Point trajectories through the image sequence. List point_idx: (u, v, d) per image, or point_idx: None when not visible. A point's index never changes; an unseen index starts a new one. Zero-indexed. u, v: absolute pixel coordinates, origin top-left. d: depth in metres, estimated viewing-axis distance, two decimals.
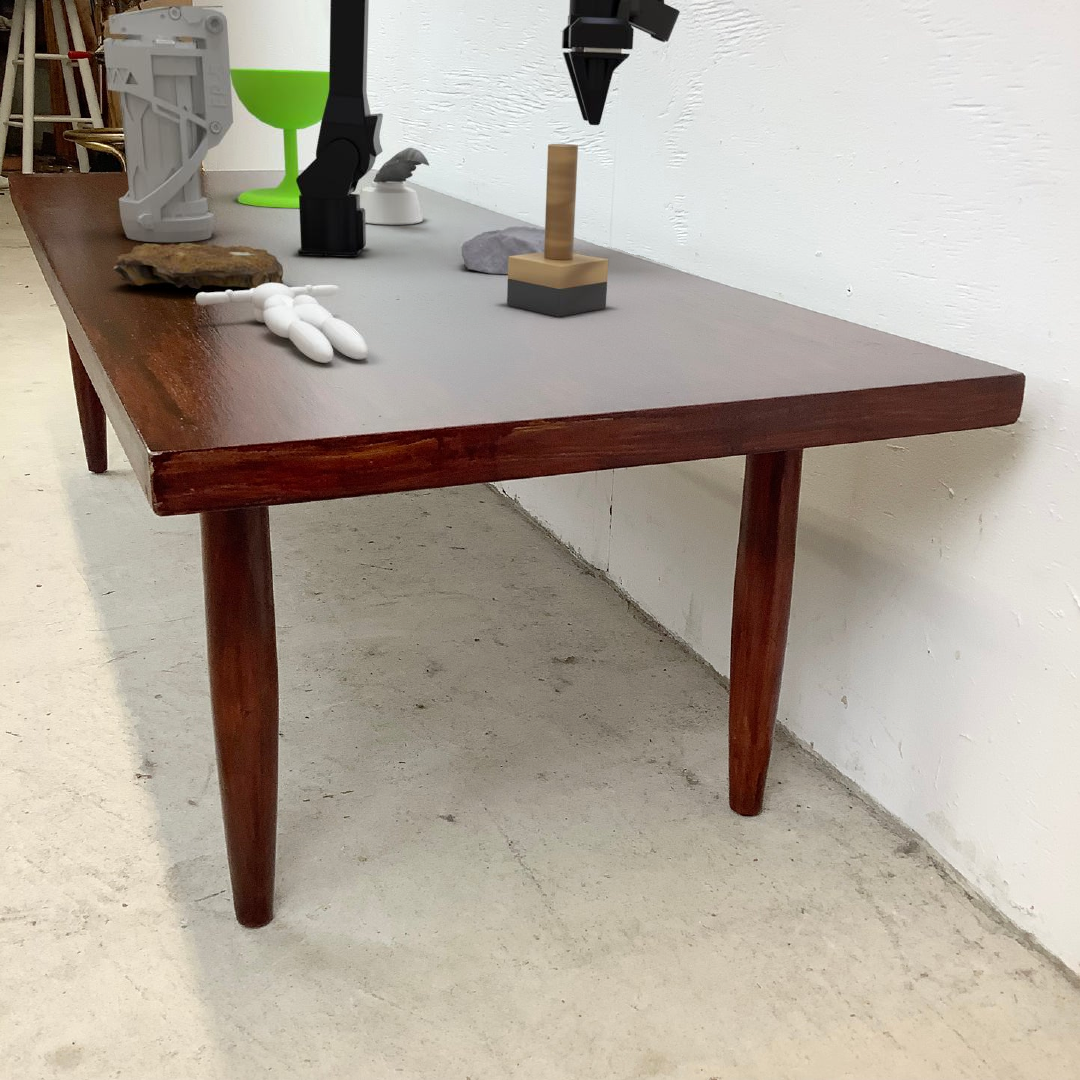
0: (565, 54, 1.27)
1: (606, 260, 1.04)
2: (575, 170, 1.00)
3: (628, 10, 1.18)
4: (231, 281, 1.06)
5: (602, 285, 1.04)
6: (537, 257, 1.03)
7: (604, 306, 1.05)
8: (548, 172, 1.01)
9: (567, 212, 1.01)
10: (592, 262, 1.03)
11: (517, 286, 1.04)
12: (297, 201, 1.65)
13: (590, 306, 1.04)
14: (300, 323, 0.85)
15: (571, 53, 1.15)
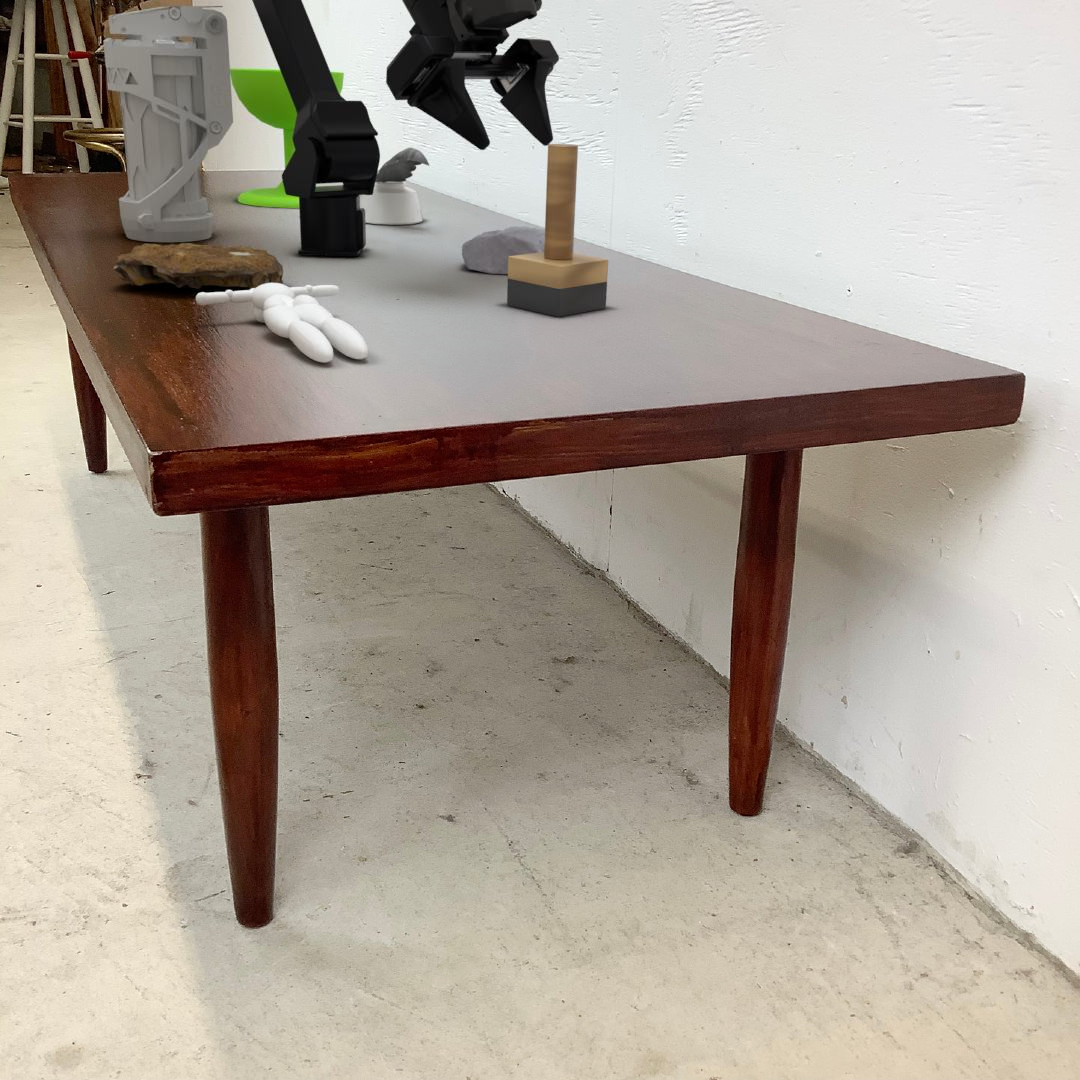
0: (501, 102, 1.13)
1: (606, 260, 1.04)
2: (575, 170, 1.00)
3: (459, 19, 1.04)
4: (231, 281, 1.06)
5: (602, 285, 1.04)
6: (537, 257, 1.03)
7: (604, 306, 1.05)
8: (548, 172, 1.01)
9: (567, 212, 1.01)
10: (592, 262, 1.03)
11: (517, 286, 1.04)
12: (297, 201, 1.65)
13: (590, 306, 1.04)
14: (300, 323, 0.85)
15: None
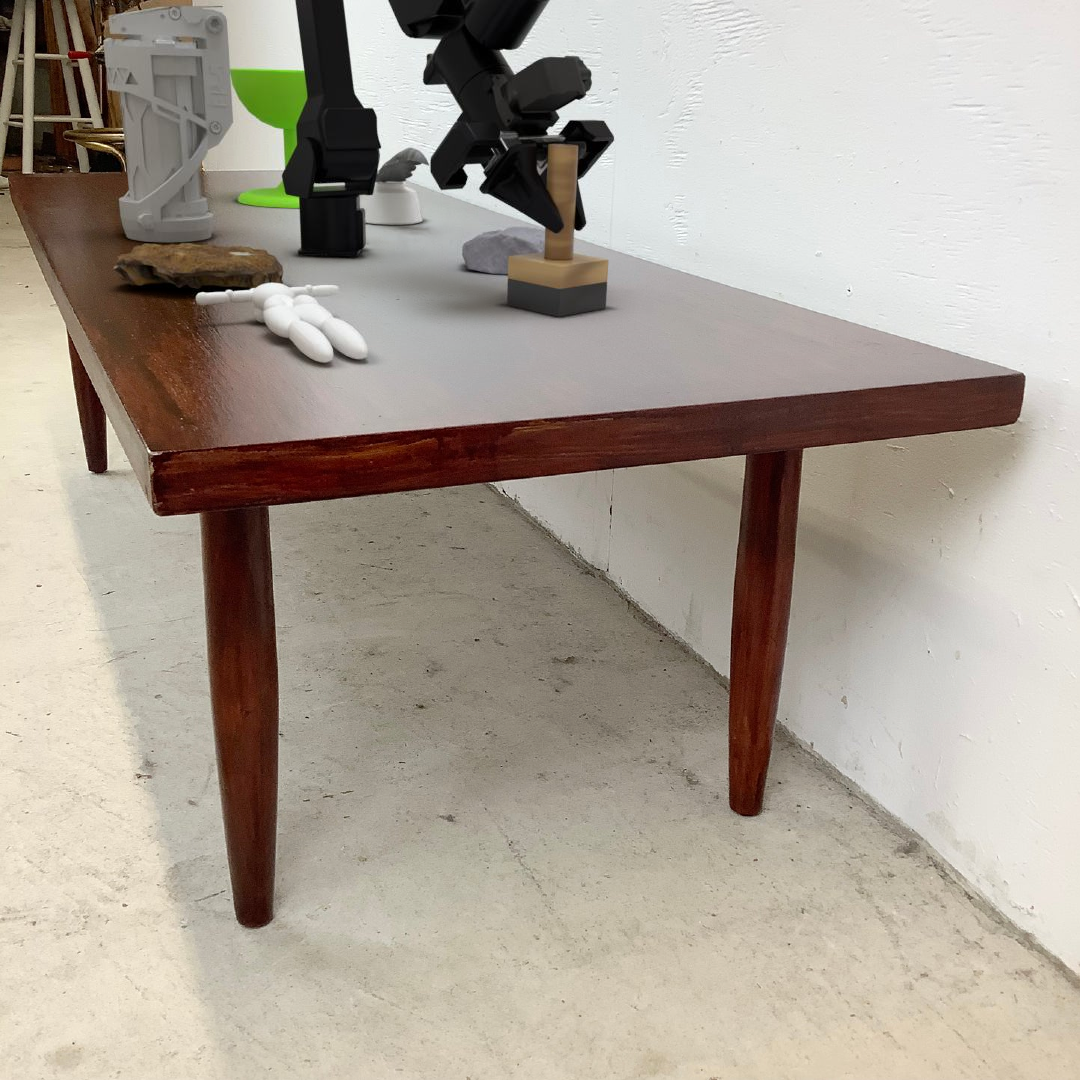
0: None
1: (606, 260, 1.04)
2: (575, 170, 1.00)
3: (505, 104, 1.00)
4: (231, 281, 1.06)
5: (602, 285, 1.04)
6: (537, 257, 1.03)
7: (604, 306, 1.05)
8: (548, 172, 1.01)
9: (568, 212, 1.01)
10: (592, 262, 1.03)
11: (517, 286, 1.04)
12: (297, 201, 1.65)
13: (590, 306, 1.04)
14: (300, 323, 0.85)
15: None
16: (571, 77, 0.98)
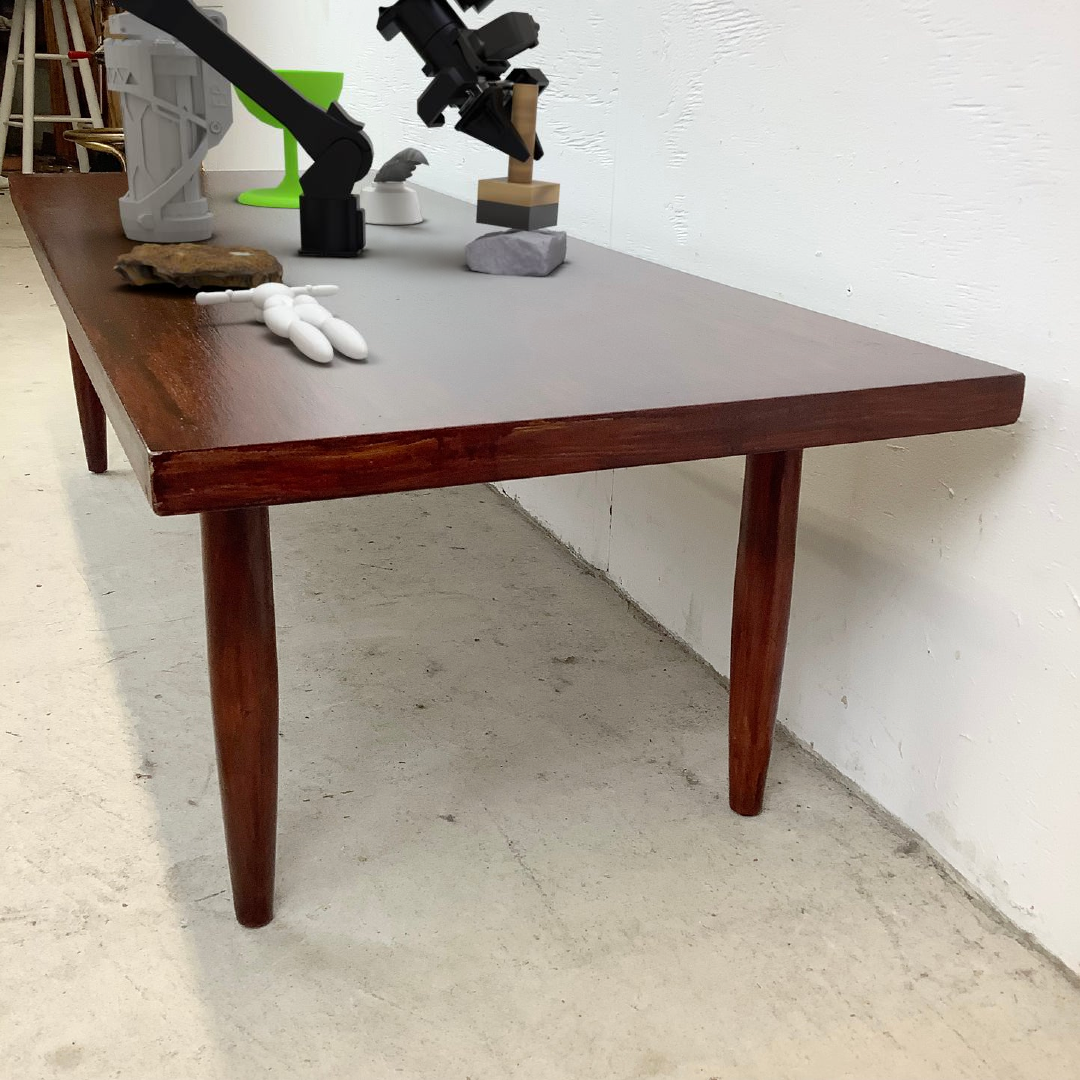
0: None
1: (559, 184, 1.24)
2: (536, 106, 1.19)
3: (473, 53, 1.17)
4: (231, 281, 1.06)
5: (555, 205, 1.24)
6: (502, 181, 1.22)
7: (556, 224, 1.25)
8: (514, 107, 1.19)
9: (530, 141, 1.20)
10: (550, 185, 1.22)
11: (486, 206, 1.22)
12: (297, 201, 1.65)
13: (548, 223, 1.24)
14: (300, 323, 0.85)
15: (455, 129, 1.19)
16: (528, 29, 1.17)
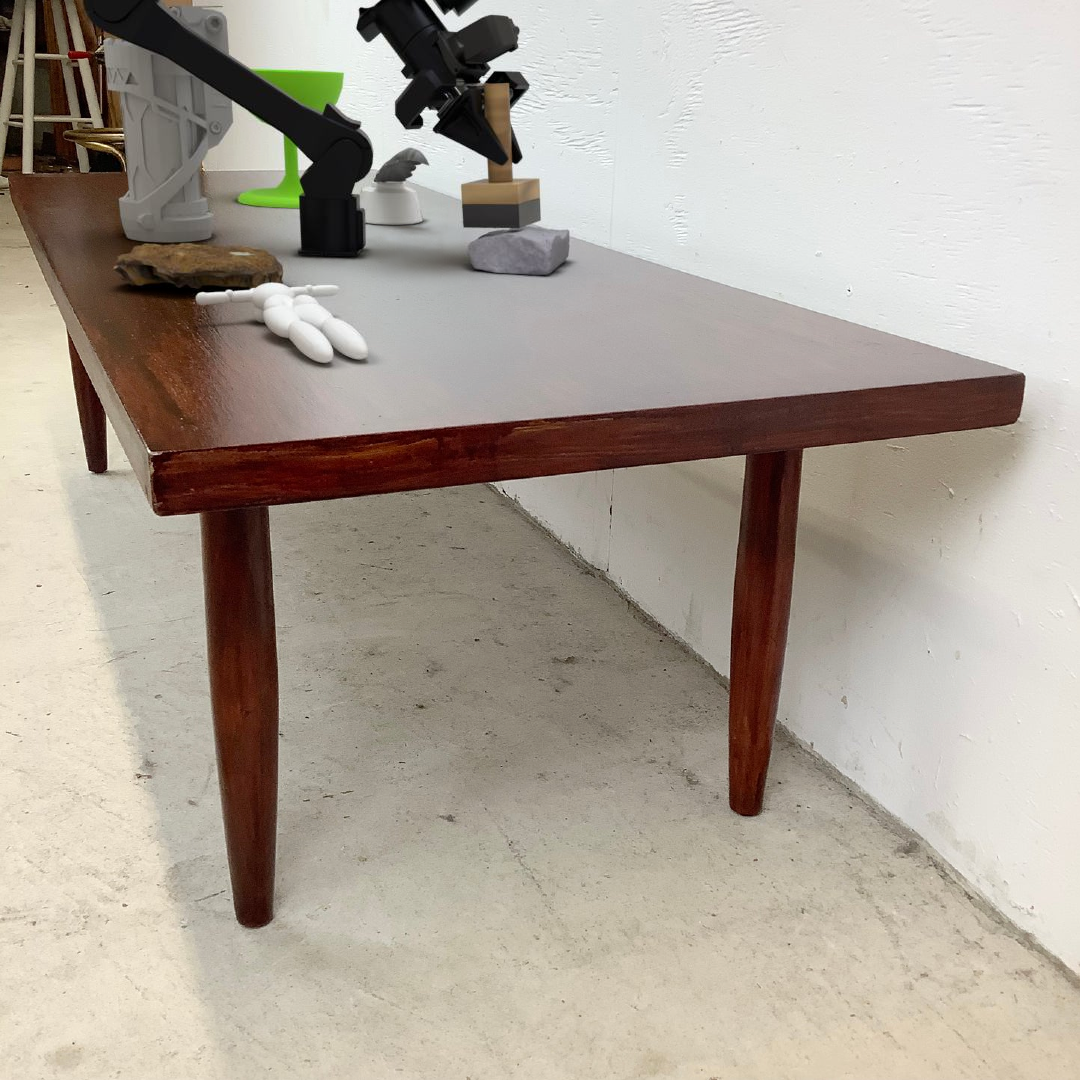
0: None
1: (538, 179, 1.24)
2: (509, 104, 1.19)
3: (452, 56, 1.17)
4: (231, 281, 1.06)
5: (538, 200, 1.24)
6: (484, 182, 1.21)
7: (540, 219, 1.25)
8: (487, 108, 1.19)
9: (508, 140, 1.20)
10: (532, 181, 1.22)
11: (473, 209, 1.21)
12: (297, 201, 1.65)
13: (534, 219, 1.24)
14: (300, 323, 0.85)
15: (433, 131, 1.19)
16: (508, 32, 1.17)
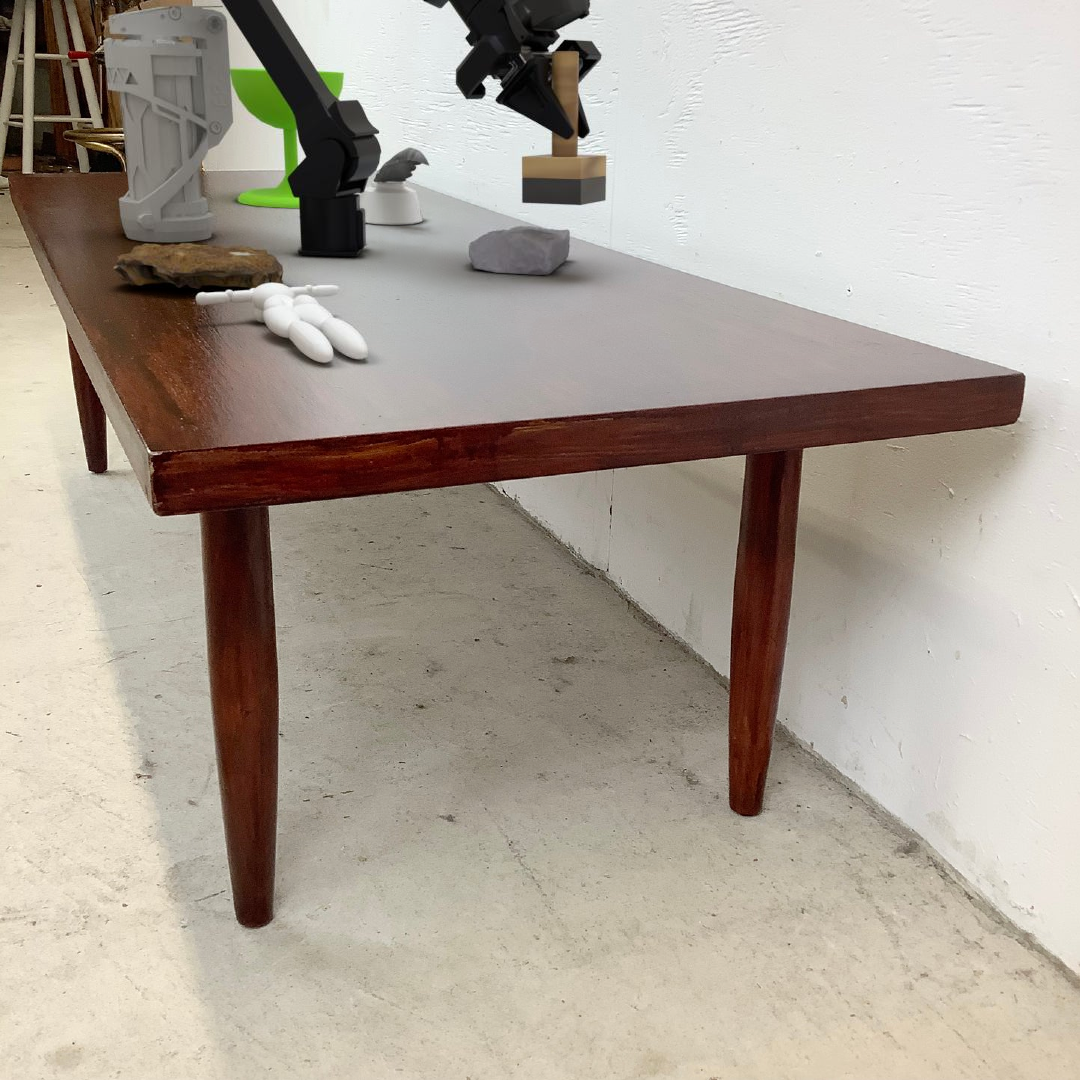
0: None
1: (605, 156, 1.17)
2: (578, 74, 1.13)
3: (518, 22, 1.11)
4: (231, 281, 1.06)
5: (603, 178, 1.17)
6: (547, 156, 1.15)
7: (604, 198, 1.18)
8: (554, 77, 1.12)
9: (574, 111, 1.13)
10: (597, 156, 1.15)
11: (533, 183, 1.15)
12: (297, 201, 1.65)
13: (597, 197, 1.17)
14: (300, 323, 0.85)
15: None
16: None
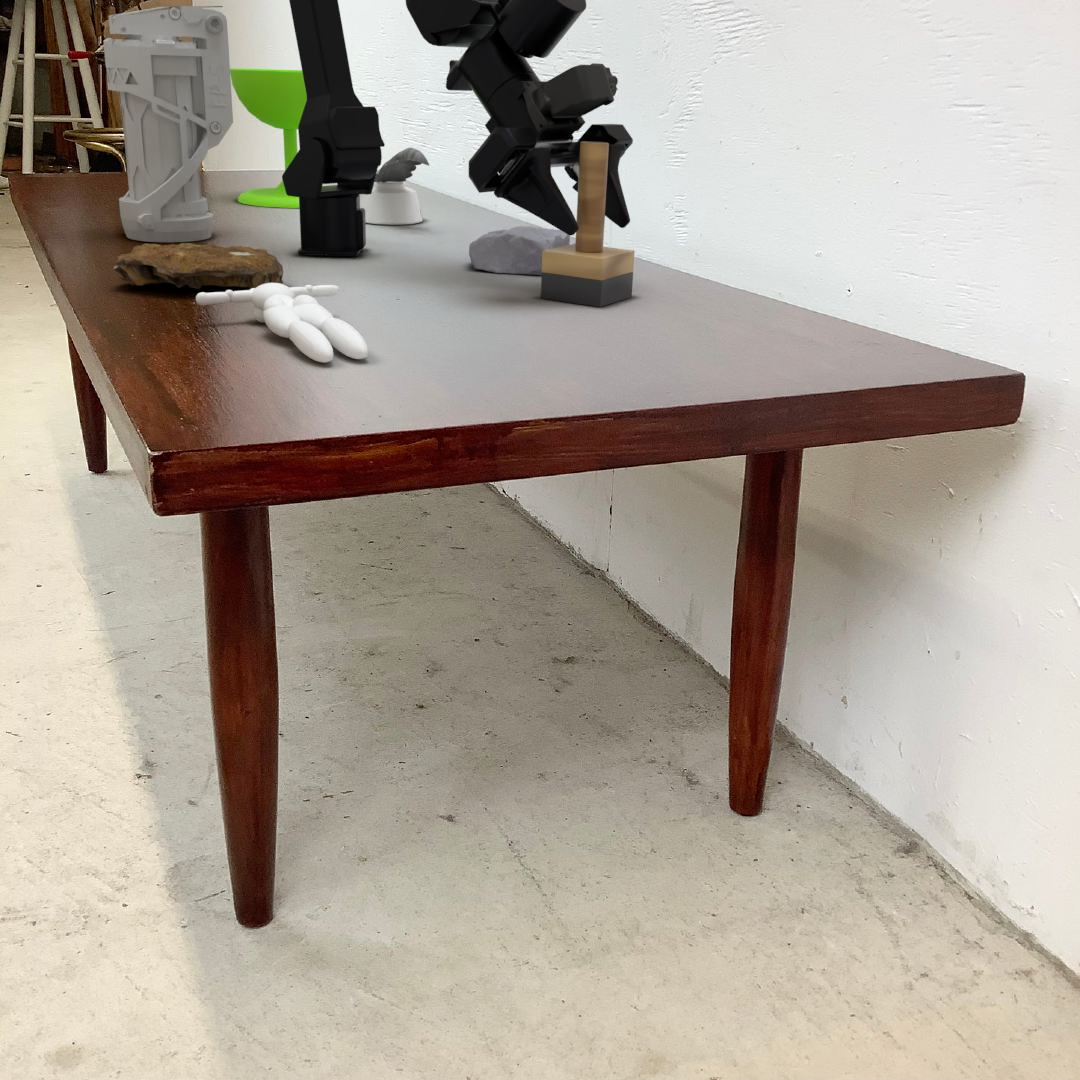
0: (574, 187, 1.13)
1: (633, 251, 1.09)
2: (607, 166, 1.05)
3: (537, 110, 1.04)
4: (231, 281, 1.06)
5: (630, 275, 1.10)
6: (570, 250, 1.08)
7: (630, 295, 1.11)
8: (581, 169, 1.05)
9: (601, 206, 1.06)
10: (624, 253, 1.08)
11: (552, 279, 1.08)
12: (297, 201, 1.65)
13: (621, 296, 1.09)
14: (300, 323, 0.85)
15: (495, 195, 1.04)
16: (601, 84, 1.03)
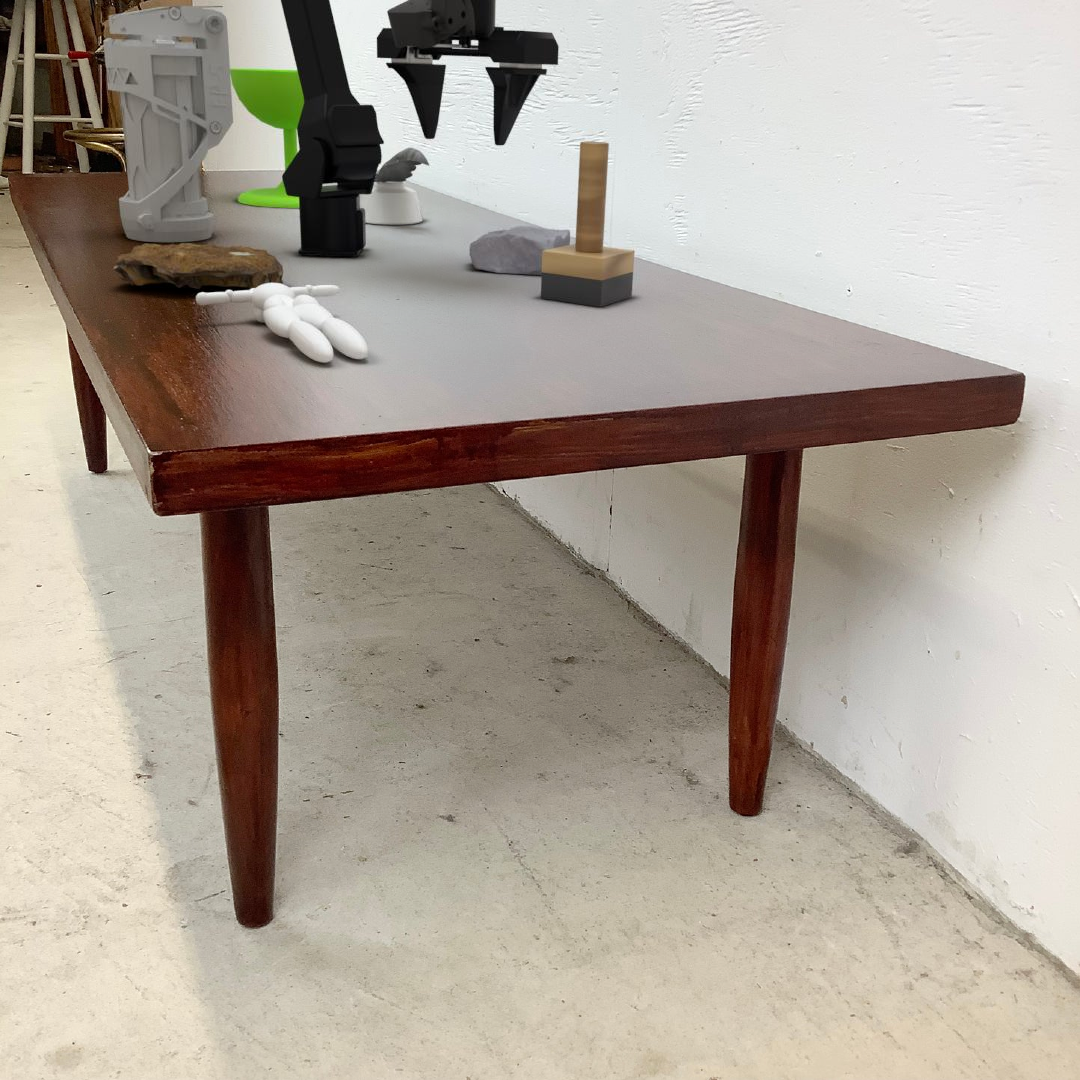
0: None
1: (633, 251, 1.09)
2: (607, 166, 1.05)
3: None
4: (231, 281, 1.06)
5: (630, 275, 1.10)
6: (570, 250, 1.08)
7: (630, 295, 1.11)
8: (581, 169, 1.05)
9: (601, 206, 1.06)
10: (624, 253, 1.08)
11: (552, 279, 1.08)
12: (297, 201, 1.65)
13: (621, 296, 1.09)
14: (300, 323, 0.85)
15: None
16: (410, 32, 1.04)
